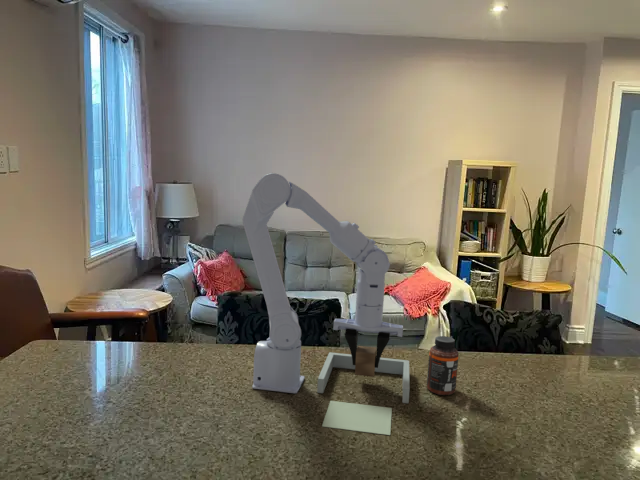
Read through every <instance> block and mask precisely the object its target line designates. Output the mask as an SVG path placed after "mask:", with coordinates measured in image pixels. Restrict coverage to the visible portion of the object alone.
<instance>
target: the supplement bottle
mask: <svg viewBox="0 0 640 480" xmlns="http://www.w3.org/2000/svg"><path fill="white" fill-rule="evenodd" d="M455 346H456V340H455V339H454V338H452V337H451V336H447V335H446V336H445V335H439V336H436V337H435V338H434V345H432V346H431V347H430V349H429V352H428V353H429V354H428V364H427V365H428V366H427V379H426V388H427V390H428V391H430V392H431V393H433V394H436V395H440V396H451V395H452V394H454V393H455V392H456V389H457V380H458V379H457V377H458V364H459V351H458V350H457V349H456V348H455Z"/></svg>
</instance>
